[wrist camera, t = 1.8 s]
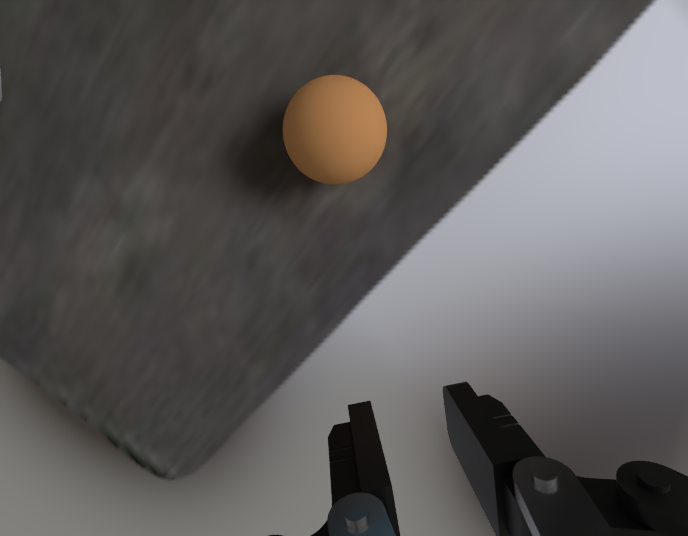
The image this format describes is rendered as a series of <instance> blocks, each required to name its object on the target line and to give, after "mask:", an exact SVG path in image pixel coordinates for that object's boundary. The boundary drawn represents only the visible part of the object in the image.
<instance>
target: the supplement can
mask: <svg viewBox="0 0 688 536" xmlns="http://www.w3.org/2000/svg"><path fill="white" fill-rule="evenodd" d="M1 99H2V88H1V70H0V102H1Z"/></svg>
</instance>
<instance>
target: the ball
mask: <svg viewBox="0 0 688 536" xmlns="http://www.w3.org/2000/svg"><path fill="white" fill-rule="evenodd" d="M386 137H387V124H386V118H385V114H384V111H383V108H382V106H381V104H380V102H379V100H378V99H377V97H376V96H375V95H374V93H373V92H372V91H371V90H370V89H369V88H368V87H366V86H365V85H364V84H362V83H361V82H359V81H357V80H355V79H353V78H350V77H346V76H341V75H327V76H322V77H319V78H316V79H314V80H312V81H310V82H308V83H307V84H305V85H304V86H302V87H301V88H300V89H299V90H298V91H297V92H296V94H295V95H294V96H293V97H292V99H291V101H290V102H289V104H288V107H287V109H286V112H285V115H284V120H283V139H284V144H285V147H286V150H287V153H288V155H289V157H290V159H291V160H292V162H293V163H294V164H295V166H296V167H297V168H298V169H299V170H300V171H301V172H302V173H303V174H305V175H306V176H308V177H309V178H311V179H313V180H315V181H317V182H320V183H324V184H330V185H340V184H346V183H350V182H353V181H355V180H357V179H359V178H361V177H363V176H364V175H365V174H367V173H368V172H369V171H370V170H371V169H372V168H373V167H374V166H375V165H376V163H377V162H378V160H379V159H380V157H381V155H382V153H383V150H384V147H385V143H386Z"/></svg>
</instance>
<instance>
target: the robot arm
mask: <svg viewBox="0 0 688 536" xmlns="http://www.w3.org/2000/svg"><path fill="white" fill-rule="evenodd" d="M443 397H444V405H445V413H446V421H447V429H448V434H449V438H450V442H451V445H452V447H453V450H454V452H455V454H456V456H457V458H458V460H459V462H460V464H461V466H462V468H463V470H464V472H465V474H466V476H467V478H468V480H469V482H470V484H471V486H472V488H473V490H474V492H475V494H476V496H477V498H478V499H479V501H480V504H481V506H482V508H483V510H484V511H485V514H486V516H487V518H488V520H489V522H490V524H491V526H492V528H493V529H494V532H495V533H496V536H688V476H685V475H684V474H681V473H679V472H677V471H675V470H672V469H670V468H668V467H666V466H663V465H660V464H657V463H653V462H647V461H631V462H628V463H625V464H623V465H621V466H620V467H619V468H618V471H617V474H616V476H617V477H616V480H612V479H595V478H584V477H578V476H576V475H575V474H574V473H573V471H572V470H571V469H570V468H568V467H567V466H566V465H564V464H563V463H561V462H559V461H557V460H554V459H551V458H547V457H545V456H544V454H543V453H542V452H541V451H540V449H539V448H538V447H537V446H536V444H535V443H534V442H533V441H532V439H531V438H530V437H529V436H528V434H527V433H526V432H525V431H524V430H523V428H522V427H521V426H520V425H519V424H518V422H517V421H516V419H515V418H514V417H513V416H511V413H510V412H509V411H508V409H507V408H506V407H505V406H504V405H503V403H502V402H500V401H498V400H497V399H495V398H493V397H491V396H490V395H483V396H477V395H476V393H475V392H474V391H473V389H472V388H471V386H470V385H469V384H468V383H467V382H463V383H457V384H453V385H447V386H444V387H443ZM348 410H349V416H350V422H347V423H342V424H337V425H334V426H333V428H332V430H331V433H330V434H329V437H328V446H329V461H330V477H331V493H332V508H331V510H330V512H329V514H328V520H327V521H326V523H325V524H324V525H323V526H322V527H321V528H320V530H318V531H317V532H316V533H314V534H313V535H311V536H400V532H399V526H398V520H397V514H396V508H395V502H394V496H393V491H392V485H391V481H390V477H389V473H388V469H387V465H386V461H385V457H384V453H383V449H382V445H381V441H380V438H379V434H378V429H377V425H376V422H375V418H374V414H373V410H372V406H371V402H370V401H366V402H361V403H356V404H352V405H348ZM270 536H282V535H270Z"/></svg>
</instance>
